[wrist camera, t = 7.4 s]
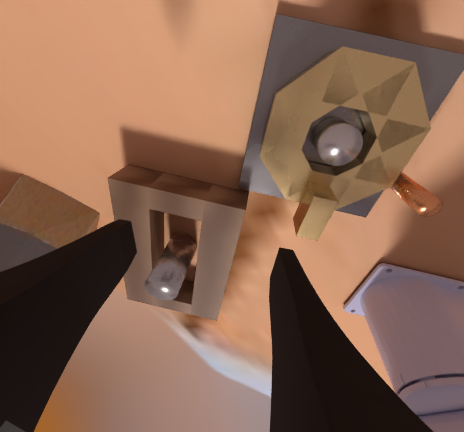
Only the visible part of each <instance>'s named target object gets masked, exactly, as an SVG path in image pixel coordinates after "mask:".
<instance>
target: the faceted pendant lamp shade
mask: <svg viewBox="0 0 464 432" xmlns="http://www.w3.org/2000/svg"><path fill="white" fill-rule="evenodd" d="M338 106H344V107H349V108H353V109H358V111H359V113H360V116H361V119H362V122H363V125H364V127H365V130H366V131H365V133H364V135H363V145H362V148H361V151H360V152H359V154H358V155H357V156H356V157H355V158H354V159H353V160H352V161H350V162H349V163H347V164H344V165H340V166H330V167H329V166H325V165H320V164H316V163H311V162H308V161H307V159H306V157H305V155H304V153H303V151H302V147H303V144H304V142H305V139H306V136H307V133H308V131H309V128H310V125H311V123H312V122H313V121H315V120H317V119H318V118H320V117H322V116H323V115H325V114H327V113H328V112H330V111H331V110H333V109H335V108H336V107H338ZM430 129H431V127H430V123H429V119H428V114H427V110H426V105H425V101H424V97H423V92H422V88H421V83H420V79H419V74H418V70H417V66H416V62H412V61H407V60H403V59H398V58H393V57H389V56H384V55H380V54H375V53H371V52H366V51H361V50H357V49H352V48H348V47H343V46H342V47H340V48H337V49H335V50H333V51H331V52H330V53H329V54H327V55H326V56H324V57H323V58H322V59H320V60H319V61H317V62H316V63H315V64H313V65H312V66H311V67H309V68H308V69H306V70H305V71H304V72H302V73H301V74H299V75H298V76H297V77H295V78H294V79H292V80H291V81H290V82H288V83H287V84H286V85H284V86H283V87H281V88H280V89H279V90H277V91H276V92H275V94H274V98H273V102H272V106H271V110H270V114H269V118H268V121H267V125H266V129H265V133H264V137H263V141H262V145H261V149H260V158H261V160H262V161H263V163H264V165H265V166H266V168H267V170H268V171H269V173H270V175H271V176H272V178H273V179H274V181H275V183H276V184H277V186H278V188H279V189H280V191H281V193H282V194H283V196H284V197H285V199H288V200H293V201H297V202H300V203H299V206H298V208H297V211H296V213H295V215H294V218H293V221H294V226H295V232H296V236H298V237H302V238H307V239H311V240H315V241H318V239H319V237H320V235H321V233H322V231H323V230H324V228H325V226H326V224H327V222H328V220H329V219H330V217H331V215H332V213H333V211H334V210H337V209H339V208H341V207H344V206H346V205H349V204H351V203H353V202H356V201H358V200H361V199H363V198H365V197H368V196H370V195H373V194H375V193H377V192H380V191H382V190H385V189H387V188H390V187H392V185H393V184H394V182H395V181H396V179H397V178H398V176H399V175H400V173H401V172H402V170H403V169H404V167H405V166H406V164H407V163H408V162H409V160H410V159H411V157H412V156H413V154H414V153H415V151H416V150H417V148H418V147H419V145H420V144H421V142H422V141H423V139H424V138H425V136H426V135H427V134H428V132H429V131H430Z"/></svg>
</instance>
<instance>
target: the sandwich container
mask: <svg viewBox="0 0 464 432" xmlns="http://www.w3.org/2000/svg"><path fill="white" fill-rule="evenodd" d="M99 215H100V213H99V212H97V211H96V210H94V209H92V208H90V207H88V206H86V205H84V204H83V203H81V202H79V201H77V200H75V199H73V198H71V197H70V196H68V195H66V194H64V193H62V192H60V191H58V190H56V189H54V188H52V187H50V186H47V185H45V184H43V183H41V182H39V181H37V180H35V179H33V178H31V177H29V176H27V175H24V174H22V175H21V176H20V178H19V179H18V180H17V182H16V183H15V184H14V186H13V187H12V188H11V190H10V191H9V192H8V194H7V195H6V196H5V198H4V199H3V200H2V202H1V203H0V272H1V271H4V270H7V269H10V268H12V267H15V266H17V265H20V264H23V263H25V262H28V261H30V260H33V259H35V258H38V257H40V256H42V255H45V254H47V253H49V252H51V251H53V250H56V249H58V248H60V247H62V246H64V245H67V244H69V243H71V242H73V241H75V240H77V239H79V238H81V237H83V236H85V235H87V234H89V233H91V232H93V231H95V230H97V225H98V220H99Z"/></svg>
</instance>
